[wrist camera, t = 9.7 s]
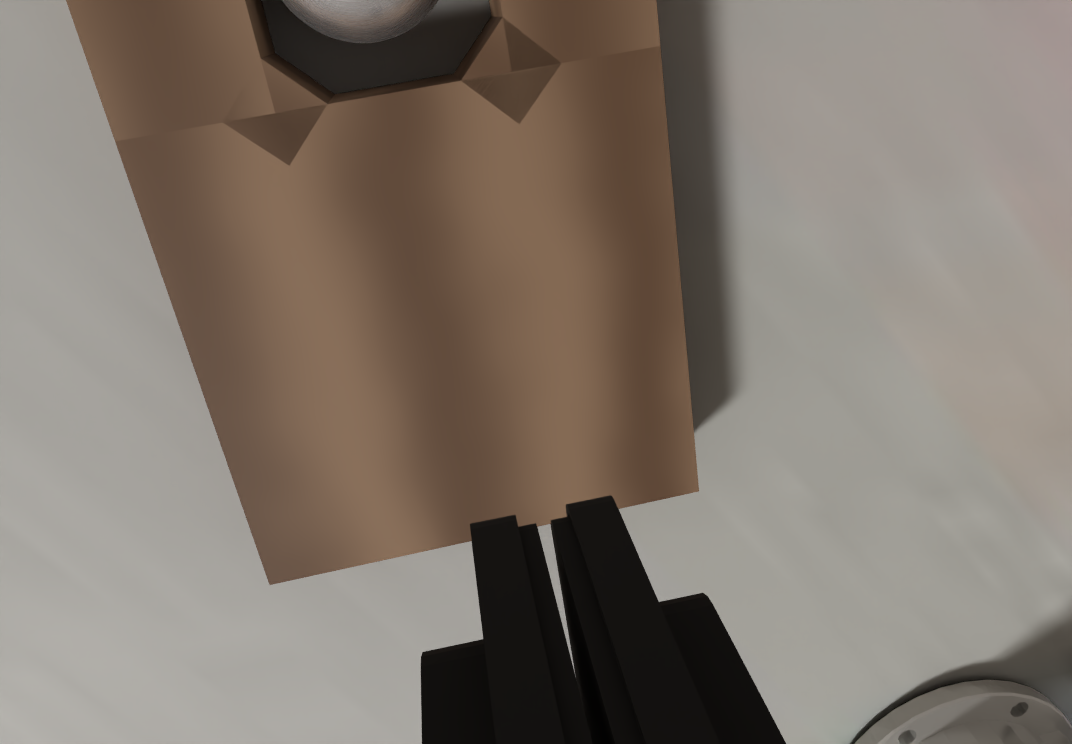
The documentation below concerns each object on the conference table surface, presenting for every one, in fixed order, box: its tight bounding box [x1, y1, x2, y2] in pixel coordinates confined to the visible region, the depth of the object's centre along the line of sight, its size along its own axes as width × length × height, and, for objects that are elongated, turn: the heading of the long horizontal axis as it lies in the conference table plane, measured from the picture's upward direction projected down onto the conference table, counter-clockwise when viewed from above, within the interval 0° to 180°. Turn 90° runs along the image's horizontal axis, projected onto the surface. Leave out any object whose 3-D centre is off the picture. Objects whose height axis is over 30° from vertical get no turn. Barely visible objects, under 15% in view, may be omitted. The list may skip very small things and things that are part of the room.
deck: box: [66, 0, 699, 585], centre depth 26 cm, size 15×24×3 cm, turn 8°
